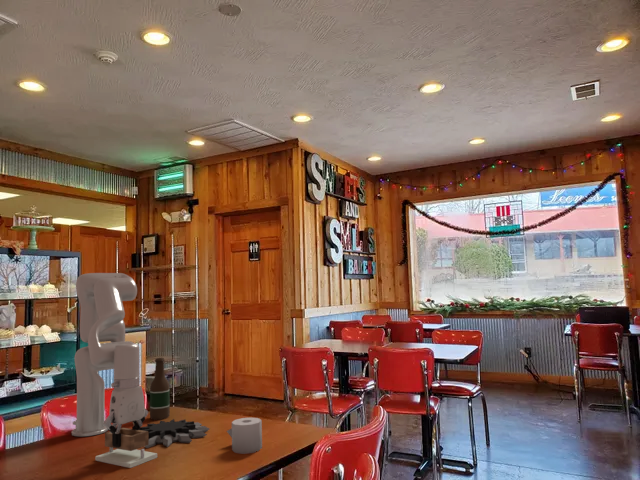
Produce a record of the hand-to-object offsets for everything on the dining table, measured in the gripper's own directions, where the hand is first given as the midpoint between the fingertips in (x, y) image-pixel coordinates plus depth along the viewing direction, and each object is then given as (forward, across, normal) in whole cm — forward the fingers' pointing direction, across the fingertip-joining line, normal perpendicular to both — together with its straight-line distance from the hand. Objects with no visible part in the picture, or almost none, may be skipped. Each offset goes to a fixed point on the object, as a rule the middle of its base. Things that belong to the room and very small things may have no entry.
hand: (126, 442), depth 153 cm
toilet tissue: (+5, +24, -27) cm, 37 cm away
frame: (+1, 0, 0) cm, 1 cm away
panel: (+5, 0, 0) cm, 5 cm away
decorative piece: (+5, +23, +7) cm, 25 cm away
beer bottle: (+5, +41, +31) cm, 52 cm away
